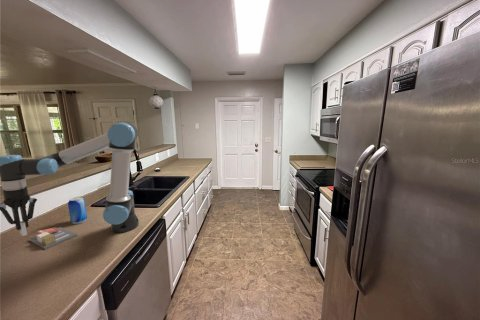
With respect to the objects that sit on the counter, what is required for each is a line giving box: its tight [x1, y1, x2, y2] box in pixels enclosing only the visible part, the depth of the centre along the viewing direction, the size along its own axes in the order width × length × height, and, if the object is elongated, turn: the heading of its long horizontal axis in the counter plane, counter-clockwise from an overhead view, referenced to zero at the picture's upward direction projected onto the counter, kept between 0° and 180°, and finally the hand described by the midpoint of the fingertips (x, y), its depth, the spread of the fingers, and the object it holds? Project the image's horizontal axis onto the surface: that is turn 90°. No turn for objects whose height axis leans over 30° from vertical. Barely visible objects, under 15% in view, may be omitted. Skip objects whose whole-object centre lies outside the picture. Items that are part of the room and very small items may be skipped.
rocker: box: [36, 227, 59, 235], centre depth 112 cm, size 5×8×1 cm, turn 155°
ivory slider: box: [36, 232, 50, 243], centre depth 107 cm, size 4×4×4 cm
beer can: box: [67, 196, 88, 225], centre depth 128 cm, size 8×8×16 cm
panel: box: [28, 226, 78, 250], centre depth 111 cm, size 18×14×2 cm
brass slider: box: [41, 234, 56, 246], centre depth 105 cm, size 4×4×4 cm
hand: (23, 234), depth 96 cm, fingers closed
